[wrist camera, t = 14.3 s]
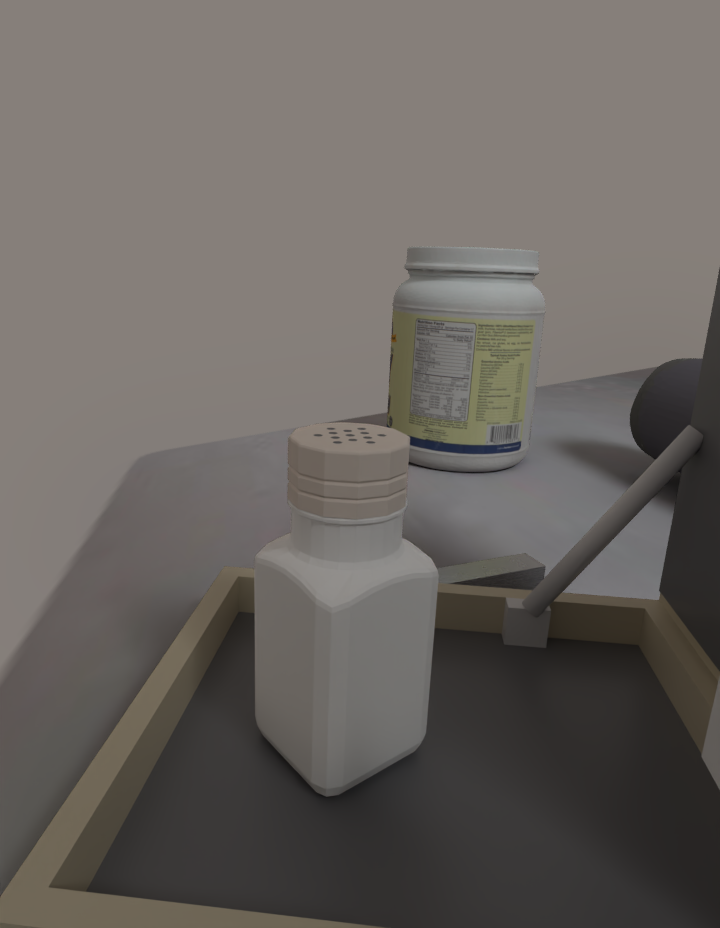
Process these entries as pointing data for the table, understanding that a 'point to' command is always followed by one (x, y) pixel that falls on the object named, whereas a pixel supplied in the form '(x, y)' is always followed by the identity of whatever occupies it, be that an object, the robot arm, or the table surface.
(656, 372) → the bluetooth speaker
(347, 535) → the pepper shaker
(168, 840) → the case
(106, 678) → the table surface
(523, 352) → the supplement tub
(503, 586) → the bar
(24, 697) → the table surface
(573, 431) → the table surface
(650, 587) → the table surface
